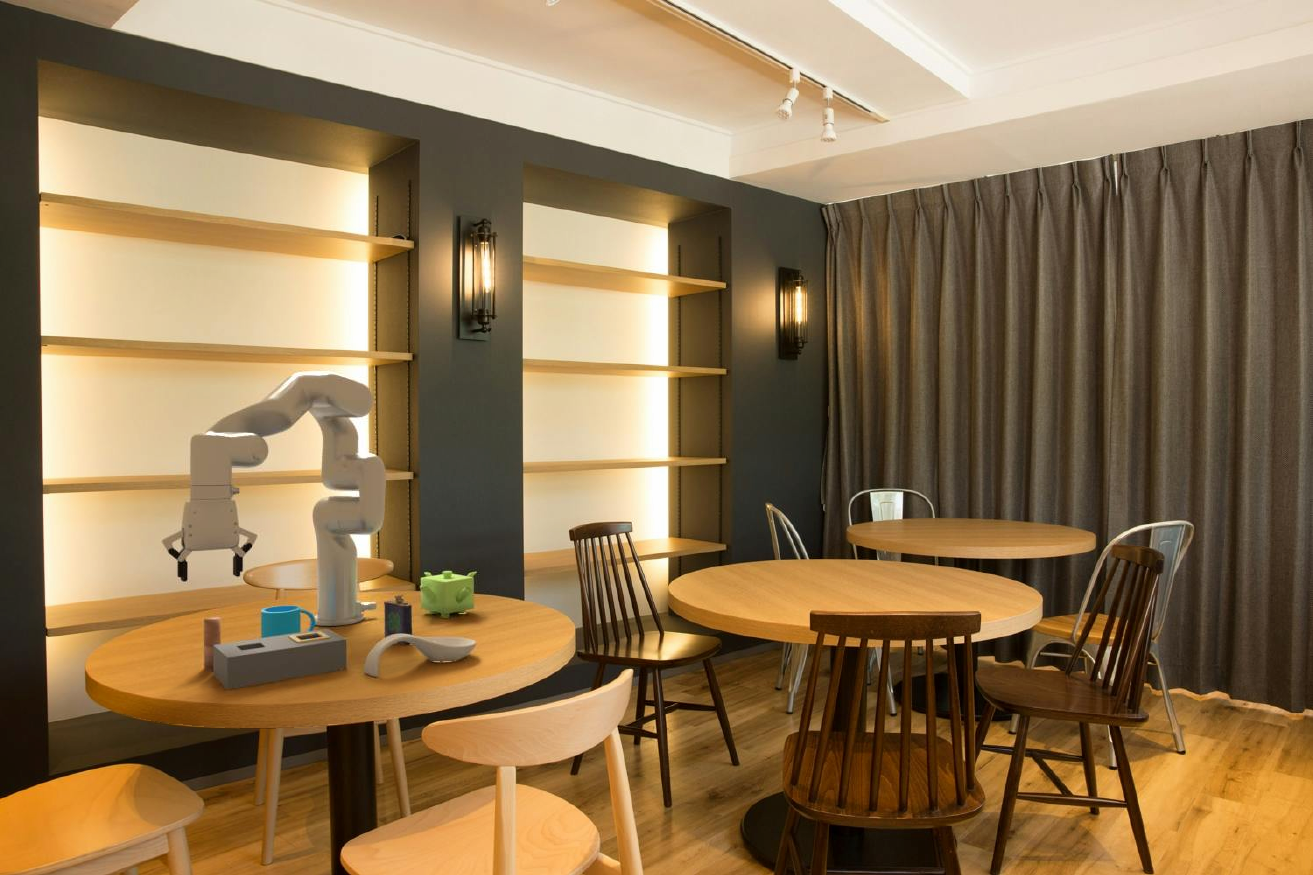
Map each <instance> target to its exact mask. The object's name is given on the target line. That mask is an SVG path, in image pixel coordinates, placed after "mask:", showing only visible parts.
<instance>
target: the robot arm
mask: <svg viewBox="0 0 1313 875" xmlns="http://www.w3.org/2000/svg"><path fill="white" fill-rule="evenodd" d="M373 406H374V396H373V393H372V391H371V389H370V388H369V386H367V385H366V384H364V383H363V382H360V381H358V380H356V379H352V378H351V377H349V376H345V375H343V374H339V373H337V372H333V371H301V372H299V371H298V372H296V373H293V374H291V375H290V376H288V377H287V378H286V379H285V380H284V381H283V382H281V383H280V384H279V385H278V386H277V387H276V388H275V389H273V390H272V391H271V392H270V393H269V394H268V395H267V396H265V398H264V399H262V400H261V401H259V402H257V403H256V402H255V403H254V404H251V405H249V406H246V407H244V408H241V409H238V411H235V412H232V413H231V414H228V415H226V416H225V417H223V418H221V419H220V420H217V421H216V422H215V423H214V424H213V425H212V426H210V427H209V428H208V429H207V430H206V431H204V432H203V433H201V432H200V433H196V434H193V435H192V436H191V438H190V442H189V444H190V446H189V447H190V449H189V450H190V452H189V453H190V454H189V459H190V460H189V461H190V462H189V467H190V468H189V476H190V477H189V478H190V479H189V480H190V482H189V488H190V489H189V490H190V491H189V500H187V501H185V502H184V506H183V513H182V518H181V530H179V531H177V532H175V533H173V534H171V535H169V536H167V537H165V538H163V539H162V540H161V543H162V545H163V547H164V548H165V550H166V552H167V553H168V554H169V555H170V556H172V558H174V559H175V560H176V561H177V566H176V567H177V578H180V581H181V582H187V581H188V579H189V578H188V573H189V571H188V567H189V566H188V561H187V558H188V557H189V555H190V554H191V553H192V552H200V551H201V552H202V551H217V550H229V549H230V550H231V551H232V552H233V553H234V555H233V556H232V575H233V576H235V577H237V578H239V577H241V573H242V572H243V571H244V557H245V556H246V554H247V553H248V552H249V551H250V550H251V549H252V548H253V545H254V544H255V542H256V540H257V538H258V534H257V533H254V532H252V531H249V530H247V529H244V528H242V527H240V524H239V523H240V522H239V514H238V508H237V503H236V500H235V499H232V498H233V496H235V495H239V494H240V487H235V486H234V485H233V480H232V479H233V475H232V474H233V472H232V471H233V469H251V468H256V467H259V466H260V465H262V464H263V463H264V462H265V461H266V459H267V458H268V455H269V445H268V443H267V441H266V440H265V439H264V438H266V437H269V436H274V435H277V434H280V433H284V432H287V431H288V430H290V429H291V428H292V427H293V426H294V425H295V424H296V423H297V422H298V421H299V420H300V419H301V418H302V417H303V416H304V415H305V414H306V413H309V414H311V416H312V417H313V418H314V419H315V421H316V423H318V426H319V427H320V431H321V435H322V451H321V452H322V453H321V454H322V455H321V483H322V485H323V487H325V488H326V489H328V490H331V491H338V492H340V491H341V492H344V491H345V492H358V493H359V494H358V496H350V495H346V496H345V495H342V496H341V495H332V496H325V497H323V498H321V499H320V500H318V501H317V502H316V503H315V504H314V506H313V509H312V524H313V527H314V532H315V533H314V534H315V539H316V561H317V562H316V565H317V566H316V572H317V573H316V575H317V576H316V578H317V579H316V580H317V581H316V584H317V587H316V588H317V590H316V592H317V596H316V598H317V601H316V602H317V608H316V609H317V612H316V613H317V614H315V615H313V616H314V617H315V621H316V623H315V626H320V627H322V626H323V627H334V626H335V627H336V626H338V627H339V626H346V625H351V624H357V623H359V622H362V621H363V620H364V619H365V614H364V612H365V611H374V610H376V609H377V608H378V607H377V603H376V602H377V601H373V602H368V601H367V602H361V601H360V600H358V549H357V545H356V544H355V541H354V539H353V538H352V536H351V535H361V536H362V535H364V536H367V535H368V536H369V535H374V534H376V533H378V532H379V531H380V530H381V528H382V526H383V525H384V520H385V511H386V510H385V508H386V507H385V506H386V488H387V487H386V486H387V471H386V467H385V464H384V461H383V459H381V457H379V456H378V455H376V454H374V453H359V434H358V432H359V431H358V430H357V428H356V426H355V424H354V423H353V421H352V419H350V418H353V419H354V418H357V419H358V418H363V417H365V416H368V414H370V413H371V411H372V410H373ZM240 535H241V536H244V537H245V538H247V539H246V542H245V543H244V544H243V545H242V546H241V547H240V546H239V545H240ZM179 540H180V546H181V549H180V550H179V551H178V550H176V549H175V547H174V546H173V543H174V542H176V541H179Z"/></svg>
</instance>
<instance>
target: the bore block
mask: <svg viewBox="0 0 1313 875" xmlns="http://www.w3.org/2000/svg"><path fill="white" fill-rule="evenodd" d="M347 667H348V666H347V639H346V637H342V636H341V635H340V634H338V633H336V632H334V631H332V630H330V629H329V628H323V629H316V630H315V629H313V631H308V630H307V631H301V632H300V633H293V634H286V635H279V636H272V637H265V638H261V637H259V638H254V639H253V638H252V639H244V640H238V641H233V642H225V643H221V644H217V645H213V670H212V671H213V676H214V678H216V680H217V681H218V682H219V683H221V685H222V686H224V687H225V689H226V690H227V689H229V690H234V689H239V688H246V687H251V686H256V685H261V684H262V685H263V684H268V683H273V682H279V681H284V680H285V681H286V680H290V679H291V680H292V679H296V678H303V677H308V676H314V675H318V674H324V673H325V674H327V673H329V672H330V673H331V671H332V672H336V670H337V671H342V670H341V669H343V670H347V669H346V668H347Z"/></svg>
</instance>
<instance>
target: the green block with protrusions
mask: <svg viewBox="0 0 1313 875" xmlns="http://www.w3.org/2000/svg"><path fill="white" fill-rule="evenodd" d="M423 573H424V575H425V576H424V577H420V586H419V589H420V609H421V610H425V611H429V612H428V614H436V613H437V614H438V613H439V614H441V615H440V618H441V617H448V618H450V614H453V613H457V614H458V613H464V612H466V611H468V610H472V609H475V594H474V593H475V592H474V591H475V583H474V582H475V578H474V576H475V575H476V574H477V571H473V572H469V573H468V574H467V575H462V574H456V573H453V571H451V570H444V571H442V574H436V575H432V574H431V573H430V572H426V571H425V572H423ZM437 614H436V615H437Z"/></svg>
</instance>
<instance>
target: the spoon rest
mask: <svg viewBox="0 0 1313 875" xmlns="http://www.w3.org/2000/svg"><path fill="white" fill-rule="evenodd" d="M400 641H405V642H408V643H410V644H412V645H411V646H413V647H415V648H416V649H417V650H418V651H419V652H420V653H421V654H422V655H424V657H426V658H427V659H429V661H430V660H431V661H430V662H432V661H440V662H443V661H454V662H456V661H455V660H458V661H460V660H462V659H463V658H465V657H467V656H468V655H470V653H471V652H472V651H473V650H474V648H475V647H476V645H477V642H476V641H475V640H474V639H471V638H467V637H466V638H465V637H457V636H432V637H431V636H428V637H427V636H419V635H418V636H417V635H413V634H412V635H409V634H393V635H390V636H388V637H386V638H382V639H381V640H379V641H378V642H377V643H376V644H375V645H373V647H372V648H371V649H370V650H369V653H368V654H367V657H366V659H365V662H364V668H363V672H364V673H365V674H367V675H369V676H371V677H376V678H377V677H378V676H379V667H380V662H381V661H380V660H381V658H382V655H383V654H384V652H385V651H386V650H387V649H389V647H391V646H392V645H394V644H398V643H397V642H400ZM459 659H460V660H459Z"/></svg>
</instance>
